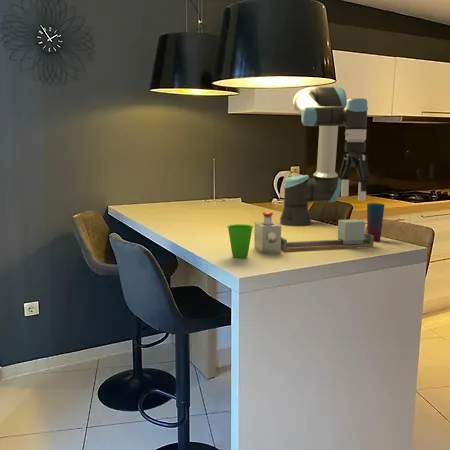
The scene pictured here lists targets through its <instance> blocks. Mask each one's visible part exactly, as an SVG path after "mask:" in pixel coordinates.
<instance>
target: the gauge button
mask: <svg viewBox="0 0 450 450" xmlns="http://www.w3.org/2000/svg"><path fill="white" fill-rule="evenodd" d="M262 215H263V222H264V225H271V223H272V222H273V221H272V216H273V212H272V211H263V212H262Z"/></svg>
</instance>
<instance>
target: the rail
mask: <svg viewBox="0 0 450 450" xmlns="http://www.w3.org/2000/svg"><path fill="white" fill-rule="evenodd" d="M357 247H367V248H374V236H373V235H370V234H367V232H365V233H364V240H363V244H343V240H338V239H329V240H328V239H326V240H324V239H323V240H322V239H321V240H305V241H304V240H303V241H288V239H286V238H284V237H282V236H281V252H284V253H287V252H304V251H305V252H306V251H307V252H308V251H325V249H328V250H342V249H341V248H348V249H358V248H357Z"/></svg>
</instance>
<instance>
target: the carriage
mask: <svg viewBox="0 0 450 450" xmlns="http://www.w3.org/2000/svg"><path fill="white" fill-rule="evenodd" d="M337 222H338V223H337V240H343V244H363V240H364V233H366V231H365V227H366V221H364V220H360V219H356V218H355V219H338V220H337Z"/></svg>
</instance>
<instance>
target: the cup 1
mask: <svg viewBox="0 0 450 450" xmlns="http://www.w3.org/2000/svg"><path fill="white" fill-rule="evenodd" d="M227 229H228V230H227V231H228V235H229V242H230V249H231V254H232V257H233V258H232V259H236V260H243V259H244V260H245V259H247V258H248V255H249V249H250V243H251V237H252V232H253V229H254V226H253V225H251V224H246V223H245V224H244V223H243V224H241V223H236V224H235V223H234V224H229V225H227Z"/></svg>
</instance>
